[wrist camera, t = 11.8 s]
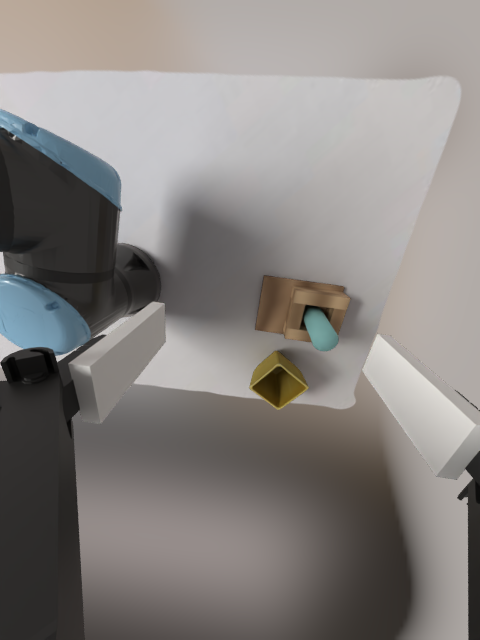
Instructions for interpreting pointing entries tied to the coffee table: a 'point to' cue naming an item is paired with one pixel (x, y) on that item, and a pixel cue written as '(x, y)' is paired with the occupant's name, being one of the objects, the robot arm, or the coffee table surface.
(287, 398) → the flower pot
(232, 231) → the coffee table surface
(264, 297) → the socket board
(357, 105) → the coffee table surface
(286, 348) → the coffee table surface
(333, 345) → the peg
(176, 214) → the coffee table surface
